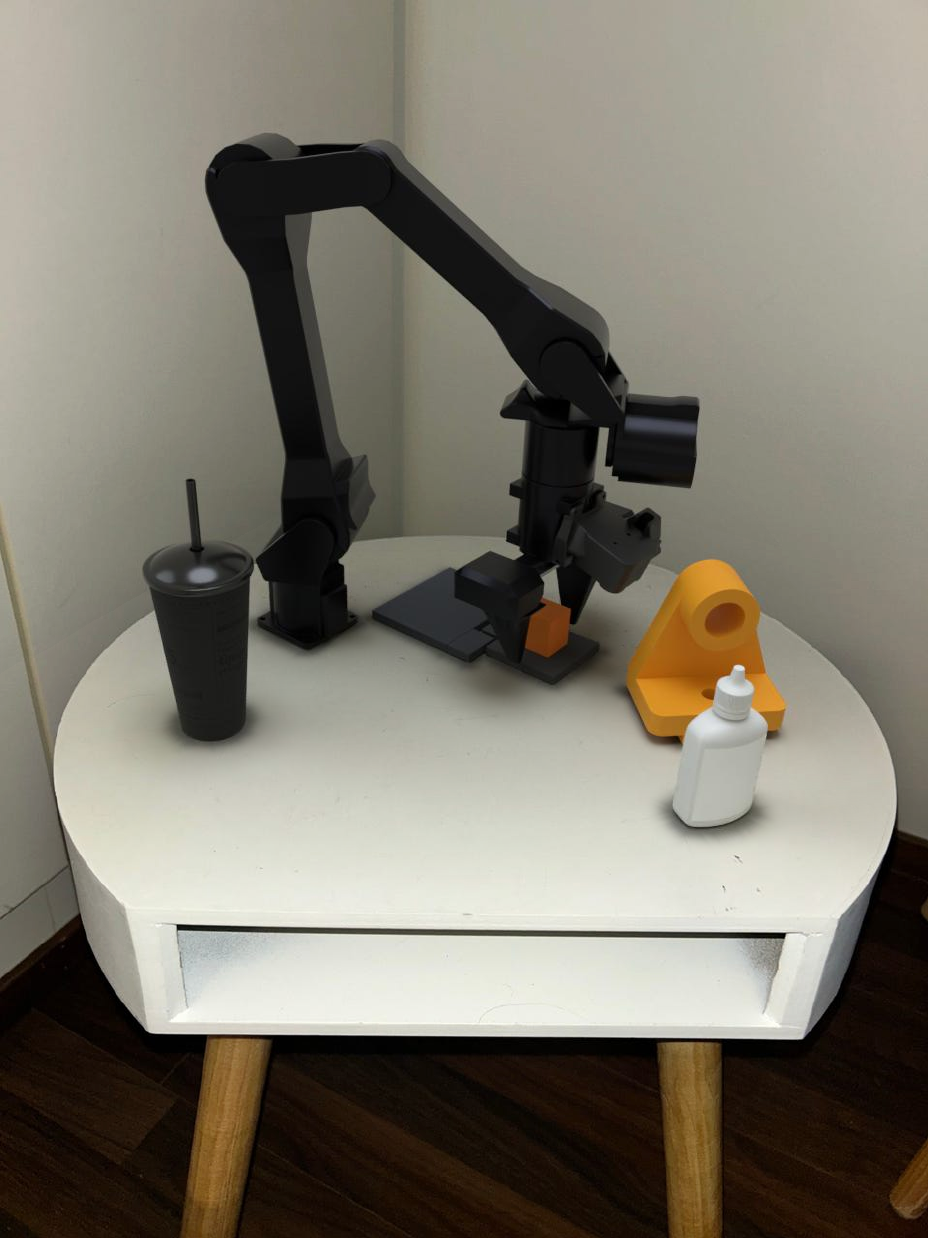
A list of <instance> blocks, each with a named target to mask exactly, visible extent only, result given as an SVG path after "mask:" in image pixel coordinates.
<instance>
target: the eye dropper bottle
mask: <svg viewBox="0 0 928 1238" xmlns="http://www.w3.org/2000/svg"><path fill="white" fill-rule="evenodd" d="M753 694H754V686H753V685H752V683H751V682H749V681H748V680H746V679H745V668H744V667H743V666H741V665H735V666H734V668H733V670H732V672H731V674H730V676H725V677H722V678H720V679H719V680H718V682H717V685H716V691H715V696H714V701H713V707H711V708H709V709H707V710H705V711H704V712H702V713H701V714H699V715H698V716H697V717H696V718H694V719H693V720H692V721H691V722H690V723H689V725H688V727H687V730H686V733H685V738H684V743H683V744H682V749H681V755H680V759H679V765H678V771H677V777H676V782H675V787H674V794H673V800H672V809H673V811H674V812H675V814H676V815H678V817H679V819H681V820H682V822H683V823H684V824H686V825H687V826H689V827H695V828H708V827H717V826H722V825H725V824H729V823H731V822H734V821H736V820H738V819H740V818H741V817H743V816H744V815H745V814H747V813H748V812H749V811H750V809H751V807H752V804H753V801H754V796H755V792H756V787H757V782H758V778H759V773H760V769H761V764H762V760H763V755H764V750H765V746H766V740H767V734H768V732H769V731H768V725H767V722H766V720H765V719H764V718H763V717H762V716H761V715H760V714H759V713H758V712H757V711H756V710H754V709H753V708H751V704H752V699H753Z"/></svg>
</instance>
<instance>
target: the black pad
mask: <svg viewBox="0 0 928 1238" xmlns="http://www.w3.org/2000/svg"><path fill="white" fill-rule="evenodd" d="M540 602H542V603H545V604H546V606H545V607H544V608H542V609H541V610H539V611H538V612H536V613H535V614H533V615H532V616H531V617H530V623H529V628H528V633H527V639H526V644H525V649H524V653H523V657H522V660H521V663H519V664H514V663H512V662H510V661H509V660H508V659H507V657H506V655H505V653H504V651H503V649H502V647H501V645H500V642H499V640H498V638H497V636H496V634H495V632H494V630H493V628H492V626H491V624H489V625H488V626H486V627H484V628H483V629H482V630H481V632H482V633H484V634H486V635H488V636H491V637H493V638H494V642H493V643H491V644H490V645H488V646H487V647H486V651H485V655H486V656H488V657H491V658H493V659H496V660H497V661H500V662H501V663H503V664H506V665H508V666H511V667H513V668H515V669H517V670H520V671H522V672H524V673H526V674H529V675H530V676H532V677H535V678H537V679H539V680H541V681H544V682H546V683H548V684H551V685H552V686H554V685H555V684H557V683H558V682H559V681H560V680H562V679H563V678H564V677H565V676H567V675H569V674H570V673H571V672H572V671H574V670H575V669H576V668H578V667H579V666H580V665H582V664H583V663H584V662H586V661H587V660H588V659H590V658H591V657H592V656H593V655H596V653H597V652H599V650H600V642H598V641H595V640H593V639H590V638H589V637H585V636H583V635H581V634H579V633H576V632H574V631H571V630H570V624H569V622H570V612H571V609H570V608H567V607H565V606H562V605H561V603H558V602H555V601H552V600H550V599H547V598H545V597H544V596H543V597H542V599H541V601H540Z"/></svg>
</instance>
